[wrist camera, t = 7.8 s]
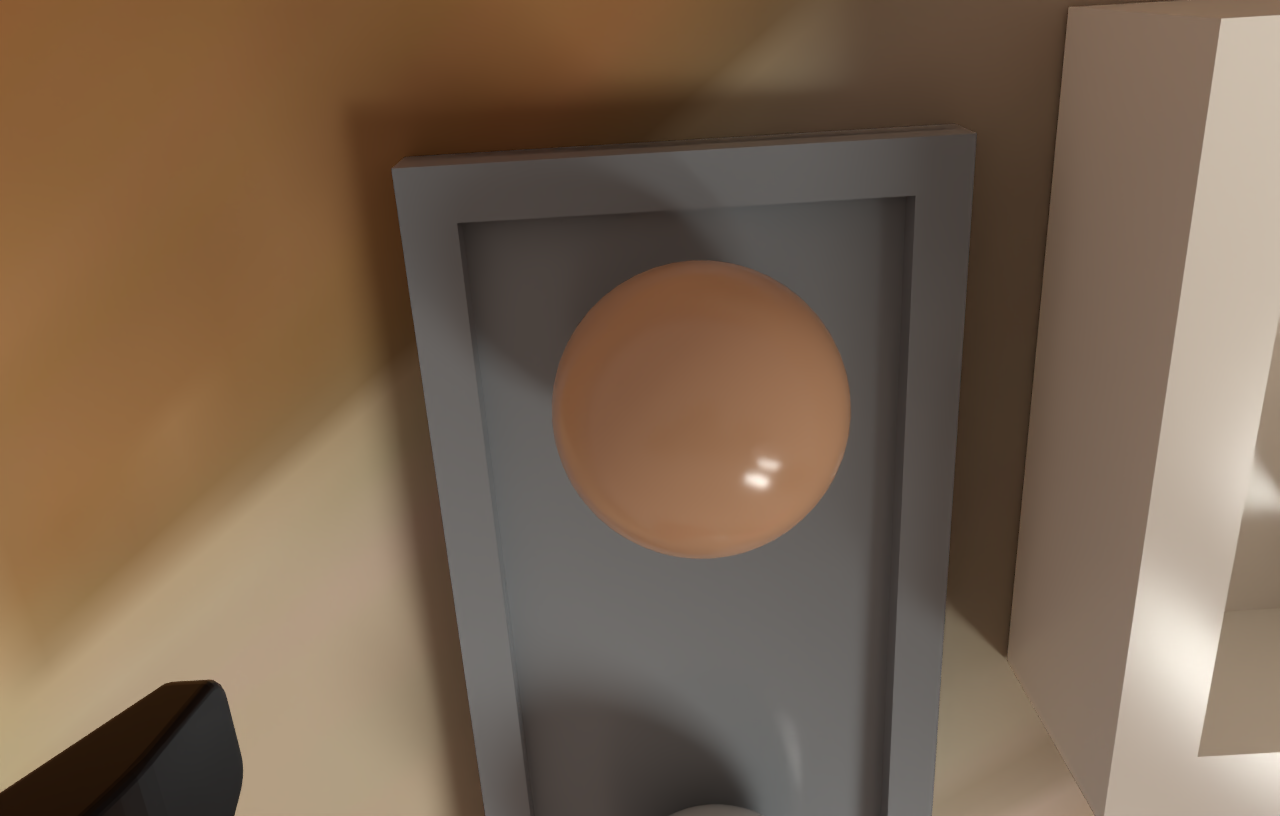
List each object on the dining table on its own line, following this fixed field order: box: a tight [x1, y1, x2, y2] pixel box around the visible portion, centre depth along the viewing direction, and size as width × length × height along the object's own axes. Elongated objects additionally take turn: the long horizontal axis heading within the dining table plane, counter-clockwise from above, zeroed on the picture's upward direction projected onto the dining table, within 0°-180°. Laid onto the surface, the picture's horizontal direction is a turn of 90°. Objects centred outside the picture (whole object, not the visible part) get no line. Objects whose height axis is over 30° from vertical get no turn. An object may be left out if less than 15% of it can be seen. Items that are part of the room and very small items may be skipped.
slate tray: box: [391, 124, 977, 816], centre depth 18 cm, size 16×8×1 cm, turn 3°
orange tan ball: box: [552, 260, 851, 559], centre depth 14 cm, size 4×4×4 cm
